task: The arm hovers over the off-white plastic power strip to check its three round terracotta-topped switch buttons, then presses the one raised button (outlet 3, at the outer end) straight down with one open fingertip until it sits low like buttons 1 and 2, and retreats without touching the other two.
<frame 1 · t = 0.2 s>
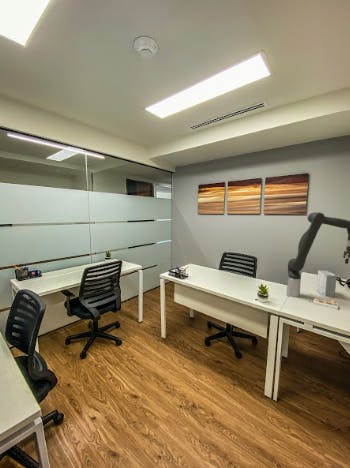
button 2: (325, 303, 158), point 3 cm above the table, slide at -1.8 cm
power strip: (325, 306, 159), on the table
hard drive box: (325, 294, 181), on the table
button 1: (318, 301, 161), point 3 cm above the table, slide at -1.8 cm
button 3: (333, 302, 155), point 5 cm above the table, slide at 0.0 cm
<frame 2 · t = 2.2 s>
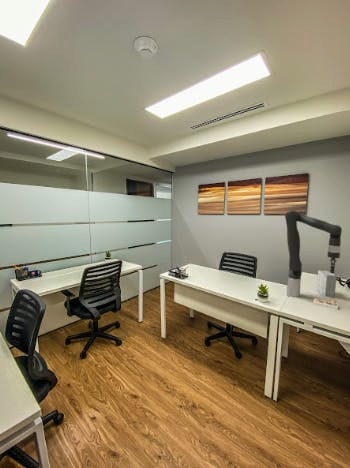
hand: (332, 271, 158), 27 cm above the table, fingers open, 8 cm apart
nothing on the table moved.
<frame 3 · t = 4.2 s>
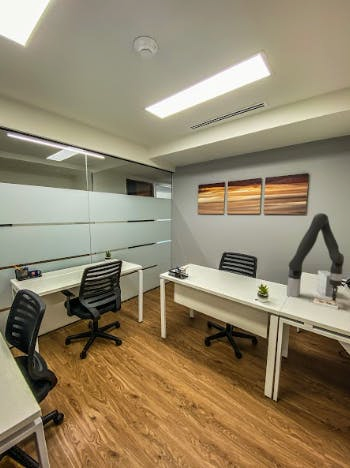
hand: (334, 298, 158), 6 cm above the table, fingers open, 8 cm apart
button 3: (333, 302, 155), point 5 cm above the table, slide at -0.2 cm, touching gripper
everything else where it was.
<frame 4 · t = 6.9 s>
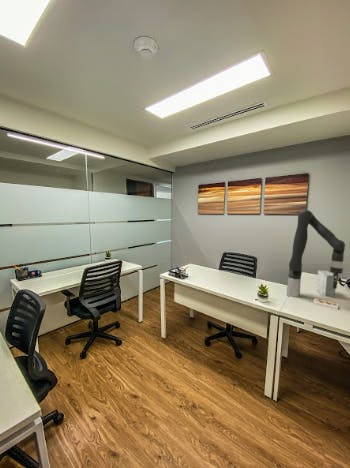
hand: (334, 286, 157), 16 cm above the table, fingers open, 8 cm apart
button 3: (333, 304, 155), point 3 cm above the table, slide at -1.9 cm
everything else where it was.
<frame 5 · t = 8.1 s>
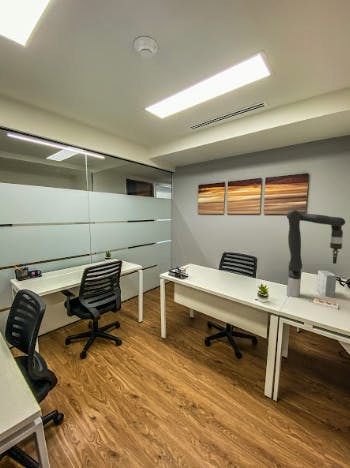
hand: (334, 262, 164), 33 cm above the table, fingers open, 8 cm apart
nothing on the table moved.
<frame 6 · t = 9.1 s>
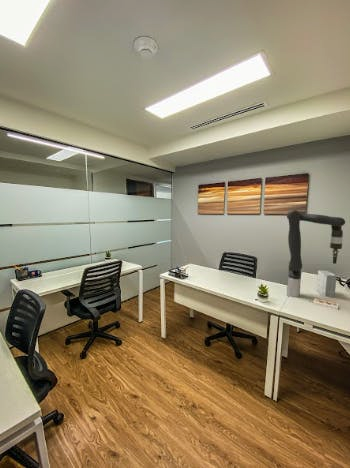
hand: (334, 262, 164), 33 cm above the table, fingers open, 8 cm apart
nothing on the table moved.
at the end: button 3 slide at -1.9 cm; button 2 slide at -1.8 cm; button 1 slide at -1.8 cm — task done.
